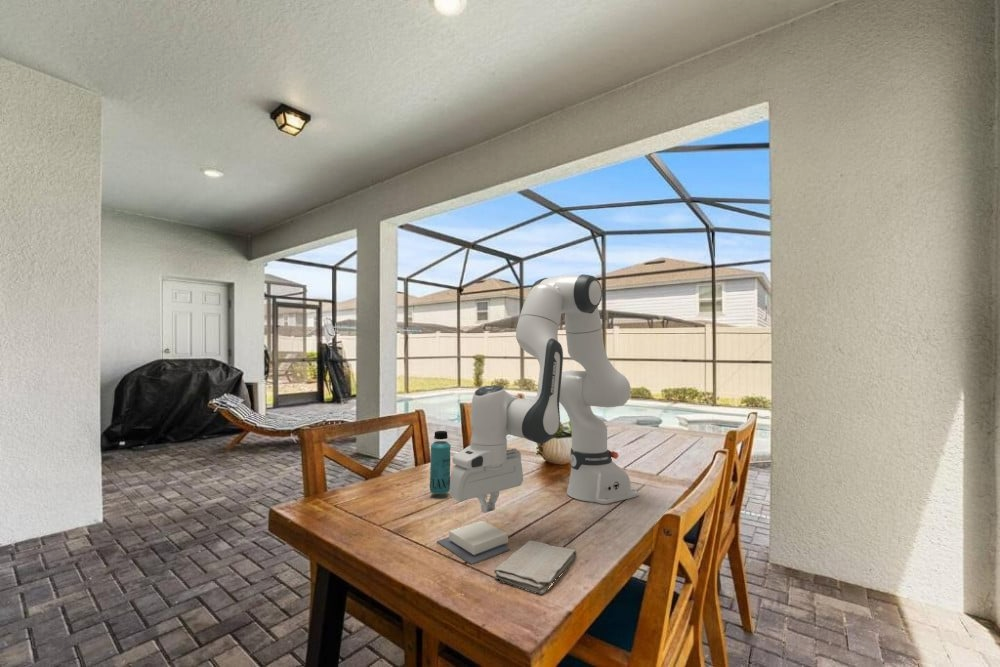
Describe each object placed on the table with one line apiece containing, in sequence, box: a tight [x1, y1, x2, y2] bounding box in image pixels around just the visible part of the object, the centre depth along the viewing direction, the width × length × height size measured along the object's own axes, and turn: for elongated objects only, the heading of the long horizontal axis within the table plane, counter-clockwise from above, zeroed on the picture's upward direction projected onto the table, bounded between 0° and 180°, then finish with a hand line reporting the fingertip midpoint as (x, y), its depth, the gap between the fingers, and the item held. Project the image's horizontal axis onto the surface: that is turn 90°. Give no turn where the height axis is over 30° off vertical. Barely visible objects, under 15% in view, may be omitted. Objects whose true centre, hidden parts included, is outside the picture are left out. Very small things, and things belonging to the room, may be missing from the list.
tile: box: [448, 520, 509, 556], centre depth 105 cm, size 2×10×10 cm
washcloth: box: [493, 540, 577, 595], centre depth 94 cm, size 12×18×3 cm, turn 151°
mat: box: [436, 536, 511, 566], centre depth 104 cm, size 11×14×1 cm
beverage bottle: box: [429, 430, 452, 495], centre depth 139 cm, size 6×7×20 cm
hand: (488, 511), depth 107 cm, fingers closed
